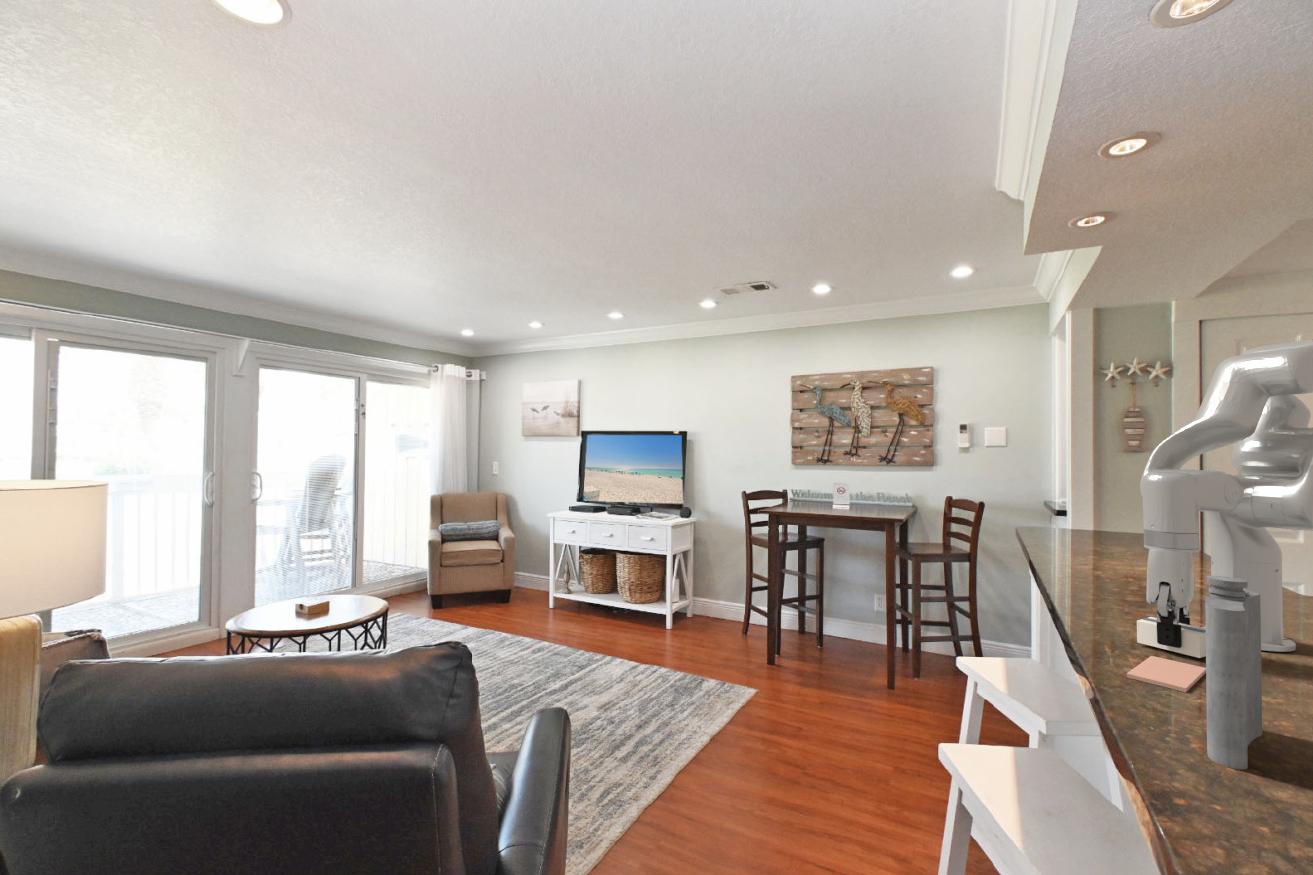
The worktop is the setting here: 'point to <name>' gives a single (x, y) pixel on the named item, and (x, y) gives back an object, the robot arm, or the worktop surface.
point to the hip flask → (1232, 670)
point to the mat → (1167, 673)
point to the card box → (1190, 636)
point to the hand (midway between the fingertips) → (1174, 640)
